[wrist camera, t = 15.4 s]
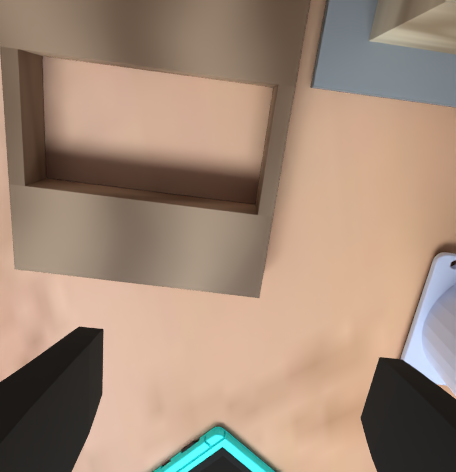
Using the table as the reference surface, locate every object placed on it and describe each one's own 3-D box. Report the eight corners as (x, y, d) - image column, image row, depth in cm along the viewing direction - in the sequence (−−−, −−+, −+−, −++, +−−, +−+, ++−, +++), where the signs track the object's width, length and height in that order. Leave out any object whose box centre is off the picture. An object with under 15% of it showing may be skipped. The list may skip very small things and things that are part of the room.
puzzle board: (349, -277, 13) (369, -343, 11) (256, 280, 20) (259, 297, 18) (8, -334, 13) (-31, -411, 11) (35, 254, 20) (14, 269, 18)
